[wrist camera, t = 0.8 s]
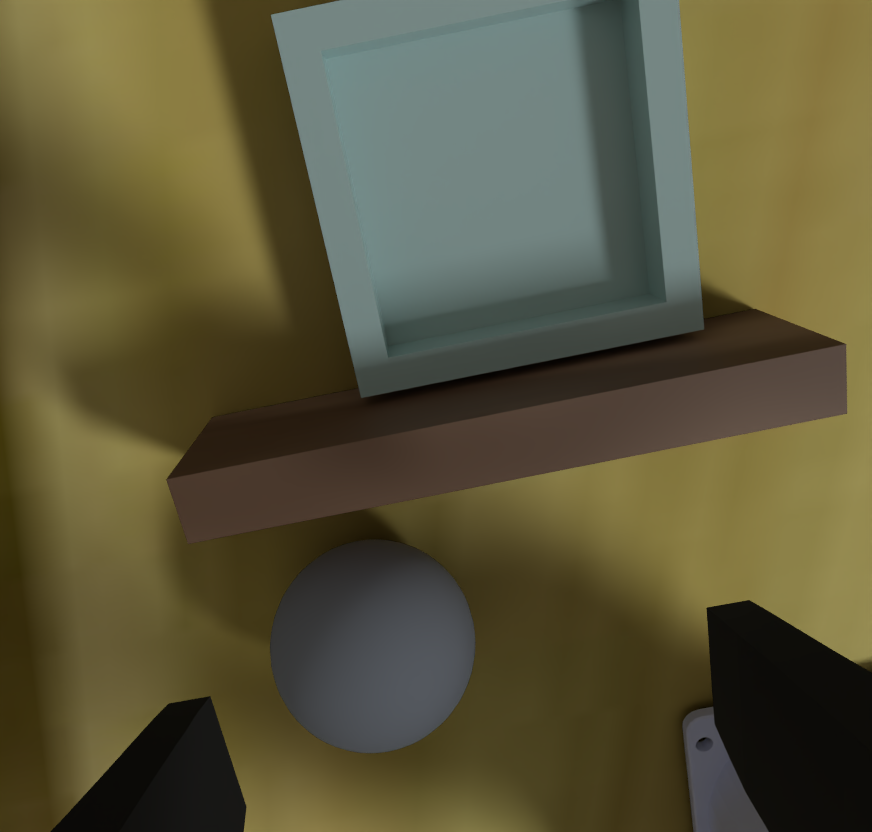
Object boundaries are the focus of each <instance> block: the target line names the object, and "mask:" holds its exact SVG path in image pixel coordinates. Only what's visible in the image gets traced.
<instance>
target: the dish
mask: <svg viewBox="0 0 872 832" xmlns="http://www.w3.org/2000/svg"><path fill="white" fill-rule="evenodd" d="M271 18H272V22H273V26H274V30H275V35H276V39H277V43H278V47H279V52H280V56H281V60H282V64H283V69H284V73H285V77H286V81H287V86H288V90H289V94H290V98H291V103H292V107H293V111H294V115H295V120H296V124H297V128H298V132H299V136H300V141H301V145H302V149H303V153H304V158H305V162H306V166H307V170H308V175H309V179H310V183H311V187H312V192H313V196H314V200H315V204H316V209H317V213H318V217H319V221H320V226H321V230H322V234H323V238H324V243H325V247H326V251H327V255H328V260H329V264H330V268H331V272H332V277H333V281H334V285H335V289H336V293H337V298H338V302H339V306H340V310H341V315H342V319H343V323H344V327H345V332H346V336H347V340H348V344H349V349H350V353H351V357H352V361H353V366H354V370H355V374H356V378H357V383H358V387H359V391H360V395H361V398H364V397H369V396H374V395H379V394H384V393H389V392H394V391H399V390H404V389H409V388H414V387H419V386H424V385H429V384H434V383H439V382H444V381H449V380H454V379H459V378H464V377H469V376H474V375H479V374H484V373H489V372H494V371H499V370H504V369H509V368H514V367H519V366H524V365H529V364H534V363H539V362H544V361H549V360H554V359H559V358H564V357H569V356H574V355H579V354H584V353H589V352H594V351H599V350H604V349H609V348H614V347H619V346H624V345H629V344H634V343H639V342H644V341H649V340H654V339H659V338H664V337H669V336H674V335H679V334H684V333H689V332H694V331H699V330H704V320H703V307H702V294H701V281H700V268H699V255H698V242H697V229H696V216H695V203H694V190H693V177H692V164H691V151H690V138H689V125H688V113H687V100H686V87H685V74H684V61H683V48H682V35H681V22H680V9H679V0H340V1H335V2H330V3H325V4H320V5H315V6H310V7H306V8H301V9H296V10H291V11H286V12H281V13H277V14H272V15H271Z"/></svg>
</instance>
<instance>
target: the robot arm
mask: <svg viewBox="0 0 872 832" xmlns="http://www.w3.org/2000/svg"><path fill="white" fill-rule="evenodd" d="M707 620H708V635H709V650H710V665H711V680H712V695H713V707H708V708H703V709H698V710H695V711H692V712H690V713H689V714H688V715H687V716H686V717H685V719H684V720H683V725H682V727H683V737H684V746H685V756H686V765H687V775H688V784H689V794H690V803H691V813H692V822H693V832H872V673H871V672H869V671H868V670H866V669H864V668H862V667H861V666H859V665H857V664H856V663H854V662H852V661H850V660H849V659H847V658H845V657H844V656H842V655H840V654H838V653H837V652H835V651H833V650H832V649H830V648H828V647H827V646H825V645H823V644H822V643H820V642H818V641H817V640H815V639H813V638H812V637H810V636H808V635H807V634H805V633H803V632H802V631H800V630H799V629H797V628H795V627H794V626H792V625H790V624H789V623H787V622H785V621H784V620H782V619H780V618H779V617H777V616H775V615H774V614H772V613H770V612H769V611H767V610H765V609H764V608H762V607H760V606H759V605H757V604H755V603H753V602H751V601H750V600H747V601H742V602H736V603H731V604H725V605H719V606H714V607H708V608H707ZM703 737H707V738H706V739H705V740H703V741H701V742H697V741H698V740H699V739H701V738H703ZM245 814H246V804H245V801H244V798H243V795H242V792H241V789H240V786H239V783H238V780H237V777H236V774H235V771H234V767H233V764H232V761H231V758H230V755H229V752H228V749H227V746H226V743H225V740H224V737H223V734H222V731H221V728H220V725H219V722H218V719H217V716H216V712H215V709H214V706H213V703H212V700H211V697H210V696H209V697H203V698H198V699H192V700H187V701H181V702H175V703H170V704H168V705H167V706H166V707H165V708H164V709H163V710H162V711H161V712H160V713H159V714H158V715H157V716H156V717H155V718H154V719H153V720H152V721H151V722H150V724H149V725H148V726H147V727H146V728H145V729H144V730H143V731H142V732H141V733H140V734H139V736H138V737H137V738H136V739H135V740H134V741H133V742H132V743H131V744H130V746H129V747H128V748H127V749H126V750H125V751H124V752H123V753H122V754H121V756H120V757H119V758H118V759H117V760H116V761H115V762H114V763H113V765H112V766H111V767H110V768H109V769H108V770H107V771H106V772H105V773H104V774H103V776H102V777H101V778H100V779H99V780H98V781H97V782H96V783H95V784H94V785H93V786H92V788H91V789H90V790H89V791H88V792H87V793H86V794H85V795H84V796H83V797H82V799H81V800H80V801H79V802H78V803H77V804H76V805H75V806H74V807H73V808H72V809H71V811H70V812H69V813H68V814H67V815H66V816H65V817H64V818H63V819H62V820H61V821H60V822H59V823H58V824H57V825H56V827H55V828H54V829H53V830H52V831H51V832H244V823H245Z"/></svg>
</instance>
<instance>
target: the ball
mask: <svg viewBox="0 0 872 832" xmlns="http://www.w3.org/2000/svg"><path fill="white" fill-rule="evenodd" d="M270 654H271V667H272V671H273V675H274V679H275V683H276V686H277V688H278V691H279V693H280V696H281V697H282V699H283V701H284V703H285V704H286V706H287V708H288V709H289V711H290V712H291V714H292V715H293V716H294V717H295V719H296V720H297V721H298V722H299V723H300V724H301V725H302V726H303V727H304V728H305V729H307V730H308V731H309V732H310V733H312V734H313V735H314V736H316V737H317V738H319V739H320V740H322V741H324V742H326V743H328V744H330V745H333V746H335V747H338V748H341V749H344V750H348V751H353V752H359V753H381V752H388V751H392V750H396V749H400V748H403V747H406V746H408V745H411V744H413V743H415V742H417V741H419V740H421V739H422V738H424V737H426V736H427V735H429V734H430V733H431V732H432V731H434V730H435V729H436V728H437V727H438V726H440V725H441V724H442V723H443V722H444V721H445V720H446V719H447V718H448V716H449V715H450V714H451V713H452V711H453V710H454V708H455V707H456V705H457V704H458V703H459V701H460V700H461V698H462V696H463V694H464V692H465V690H466V687H467V684H468V682H469V679H470V676H471V673H472V668H473V662H474V656H475V631H474V623H473V619H472V616H471V612H470V609H469V606H468V603H467V601H466V599H465V596H464V594H463V592H462V591H461V589H460V587H459V586H458V584H457V583H456V581H455V580H454V578H453V577H452V576H451V575H450V574H449V572H448V571H447V570H446V569H445V568H444V567H443V566H442V565H440V564H439V563H438V562H437V561H436V560H435V559H433V558H432V557H430V556H429V555H427V554H426V553H424V552H422V551H420V550H418V549H416V548H414V547H411V546H409V545H406V544H403V543H399V542H395V541H390V540H380V539H375V540H362V541H356V542H352V543H348V544H344V545H341V546H339V547H336V548H334V549H331V550H330V551H328V552H326V553H324V554H322V555H321V556H319V557H318V558H317V559H315V560H314V561H312V562H311V563H310V564H309V565H308V566H307V567H305V568H304V569H303V570H302V571H301V572H300V573H299V574H298V576H297V577H296V578H295V579H294V581H293V582H292V583H291V585H290V586H289V588H288V589H287V591H286V593H285V594H284V596H283V598H282V600H281V602H280V605H279V607H278V610H277V612H276V615H275V618H274V622H273V626H272V632H271V642H270Z"/></svg>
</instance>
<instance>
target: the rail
mask: <svg viewBox="0 0 872 832" xmlns="http://www.w3.org/2000/svg"><path fill="white" fill-rule="evenodd" d="M703 320H704V330H699V331H694V332H689V333H684V334H679V335H674V336H669V337H664V338H659V339H654V340H649V341H644V342H639V343H634V344H629V345H624V346H619V347H614V348H609V349H604V350H599V351H594V352H589V353H584V354H579V355H574V356H569V357H564V358H559V359H554V360H549V361H544V362H539V363H534V364H529V365H524V366H519V367H514V368H509V369H504V370H499V371H494V372H489V373H484V374H479V375H474V376H469V377H464V378H459V379H454V380H449V381H444V382H439V383H434V384H429V385H424V386H419V387H414V388H409V389H404V390H399V391H394V392H389V393H384V394H379V395H374V396H369V397H364V398H361V395H360V391H359V388H357V389H352V390H347V391H342V392H337V393H332V394H327V395H322V396H317V397H312V398H307V399H302V400H297V401H292V402H287V403H282V404H277V405H272V406H267V407H262V408H257V409H252V410H247V411H242V412H237V413H232V414H227V415H222V416H217V417H212V418H211V420H210V421H209V422H208V424H207V425H206V427H205V428H204V429H203V431H202V432H201V433H200V435H199V436H198V437H197V439H196V440H195V441H194V443H193V444H192V445H191V447H190V448H189V450H188V451H187V452H186V454H185V455H184V456H183V458H182V459H181V460H180V462H179V463H178V464H177V466H176V467H175V468H174V470H173V471H172V473H171V474H170V475H169V477H168V478H167V479H166V480H167V483H168V486H169V489H170V492H171V495H172V498H173V501H174V504H175V506H176V509H177V512H178V515H179V518H180V521H181V524H182V527H183V530H184V533H185V536H186V539H187V542H188V544H191V543H196V542H201V541H206V540H211V539H216V538H221V537H226V536H231V535H236V534H241V533H246V532H251V531H256V530H261V529H266V528H271V527H276V526H281V525H287V524H292V523H297V522H302V521H307V520H312V519H317V518H322V517H327V516H332V515H337V514H342V513H347V512H352V511H357V510H362V509H367V508H372V507H377V506H382V505H388V504H393V503H398V502H403V501H408V500H413V499H418V498H423V497H428V496H433V495H438V494H443V493H448V492H453V491H458V490H463V489H468V488H473V487H478V486H483V485H489V484H494V483H499V482H504V481H509V480H514V479H519V478H524V477H529V476H534V475H539V474H544V473H549V472H554V471H559V470H564V469H569V468H574V467H579V466H585V465H590V464H595V463H600V462H605V461H610V460H615V459H620V458H625V457H630V456H635V455H640V454H645V453H650V452H655V451H660V450H665V449H670V448H675V447H680V446H686V445H691V444H696V443H701V442H706V441H711V440H716V439H721V438H726V437H731V436H736V435H741V434H746V433H751V432H756V431H761V430H766V429H771V428H776V427H782V426H787V425H792V424H797V423H802V422H807V421H812V420H817V419H822V418H827V417H832V416H837V415H842V414H847V376H846V344H844V343H842V342H839V341H837V340H834V339H831V338H829V337H826V336H824V335H821V334H819V333H816V332H813V331H811V330H808V329H806V328H803V327H801V326H798V325H795V324H793V323H790V322H788V321H785V320H783V319H780V318H777V317H775V316H772V315H770V314H767V313H765V312H762V311H759V310H757V309H752V310H747V311H742V312H737V313H732V314H727V315H722V316H717V317H712V318H707V319H703Z"/></svg>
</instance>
